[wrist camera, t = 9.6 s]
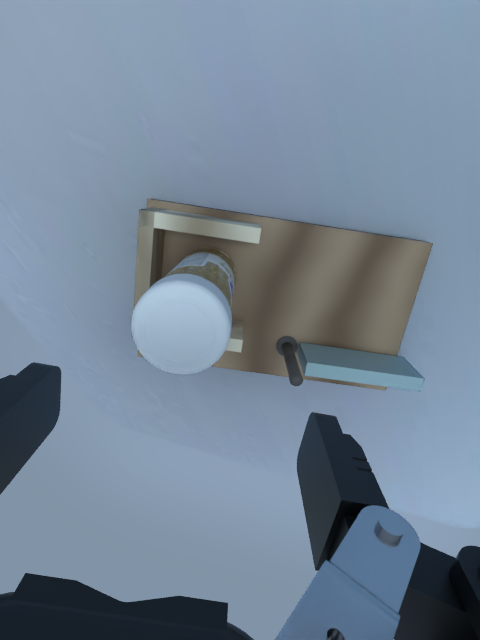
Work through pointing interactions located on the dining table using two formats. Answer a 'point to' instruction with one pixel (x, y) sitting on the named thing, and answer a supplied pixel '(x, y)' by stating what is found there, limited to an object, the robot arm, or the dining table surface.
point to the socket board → (290, 283)
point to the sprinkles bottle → (187, 313)
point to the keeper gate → (358, 367)
